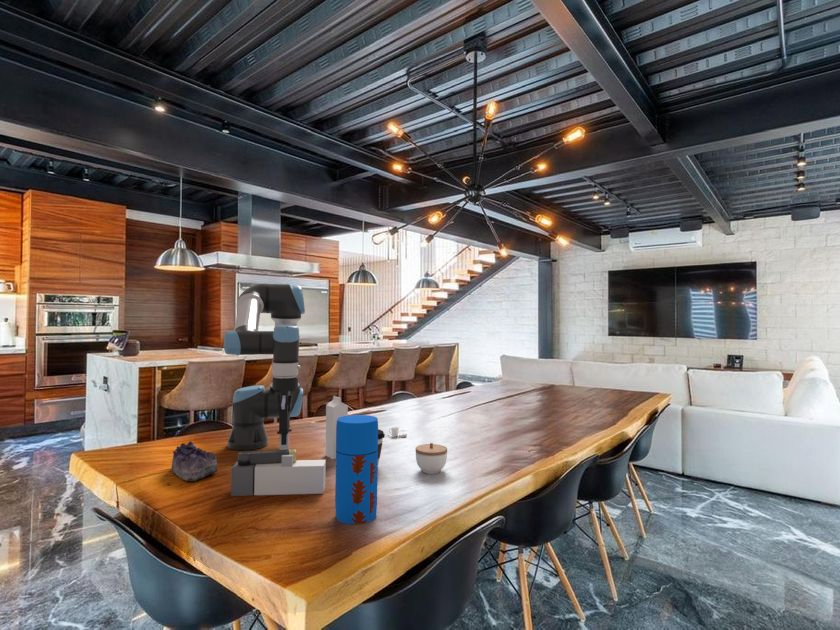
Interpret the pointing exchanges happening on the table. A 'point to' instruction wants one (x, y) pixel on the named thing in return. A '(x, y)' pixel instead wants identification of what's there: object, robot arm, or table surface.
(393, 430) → the teacup and saucer
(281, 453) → the bar
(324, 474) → the white box with knob
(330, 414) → the milk
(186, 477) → the geode
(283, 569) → the table surface
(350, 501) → the thermos
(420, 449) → the lidded jar
